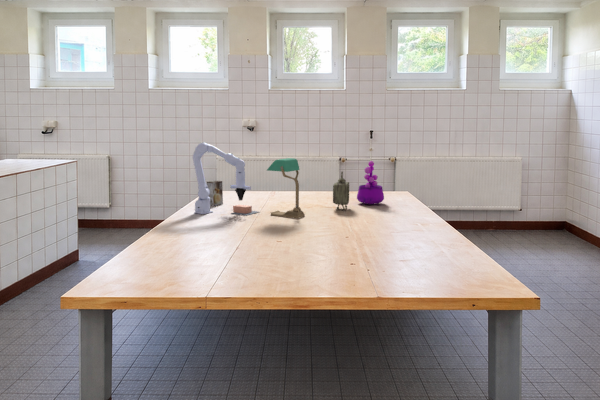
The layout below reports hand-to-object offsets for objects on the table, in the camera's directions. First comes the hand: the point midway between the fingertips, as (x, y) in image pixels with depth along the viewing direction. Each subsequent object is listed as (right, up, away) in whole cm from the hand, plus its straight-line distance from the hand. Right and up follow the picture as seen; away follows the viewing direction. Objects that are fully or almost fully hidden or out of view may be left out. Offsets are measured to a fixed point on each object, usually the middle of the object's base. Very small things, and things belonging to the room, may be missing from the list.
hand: (240, 200), depth 359 cm
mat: (+3, -8, 0) cm, 9 cm away
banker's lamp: (+29, -10, -9) cm, 32 cm away
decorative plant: (+87, -3, +37) cm, 94 cm away
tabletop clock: (+64, -6, +16) cm, 67 cm away
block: (-3, -5, +3) cm, 7 cm away
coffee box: (-21, -3, +32) cm, 38 cm away
